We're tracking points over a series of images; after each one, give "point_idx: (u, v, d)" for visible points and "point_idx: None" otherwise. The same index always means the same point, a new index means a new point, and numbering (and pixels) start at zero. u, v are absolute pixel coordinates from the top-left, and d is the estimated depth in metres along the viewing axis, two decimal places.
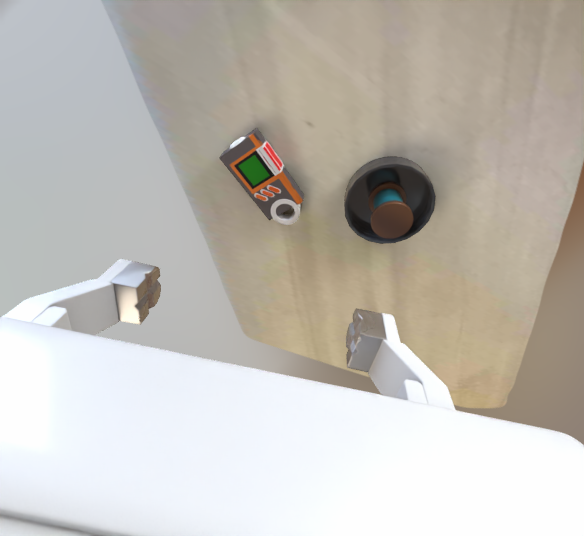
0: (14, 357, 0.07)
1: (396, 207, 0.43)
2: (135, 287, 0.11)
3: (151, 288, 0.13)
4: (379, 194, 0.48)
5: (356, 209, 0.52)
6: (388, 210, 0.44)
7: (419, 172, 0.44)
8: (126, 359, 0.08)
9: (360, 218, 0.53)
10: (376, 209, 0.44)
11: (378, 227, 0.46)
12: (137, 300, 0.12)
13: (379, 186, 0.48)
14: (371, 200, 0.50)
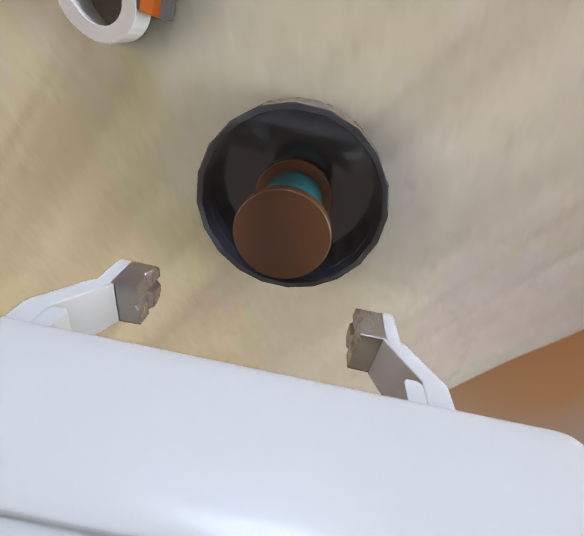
0: (14, 357, 0.07)
1: (315, 222, 0.18)
2: (135, 286, 0.11)
3: (151, 288, 0.13)
4: (297, 174, 0.22)
5: (236, 159, 0.23)
6: (298, 213, 0.17)
7: (385, 207, 0.21)
8: (126, 358, 0.08)
9: (227, 181, 0.24)
10: (281, 188, 0.17)
11: (248, 225, 0.18)
12: (137, 300, 0.12)
13: (308, 163, 0.22)
14: (274, 171, 0.23)
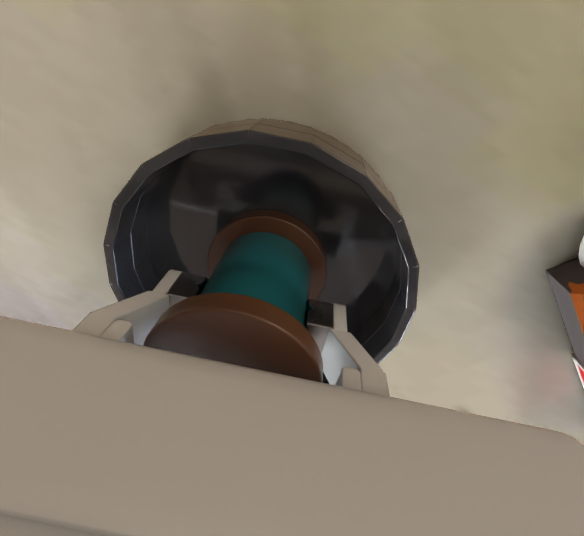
0: (14, 357, 0.07)
1: None
2: None
3: None
4: None
5: (364, 229, 0.14)
6: None
7: None
8: (126, 359, 0.08)
9: (349, 194, 0.14)
10: None
11: (281, 360, 0.09)
12: None
13: None
14: (316, 275, 0.15)
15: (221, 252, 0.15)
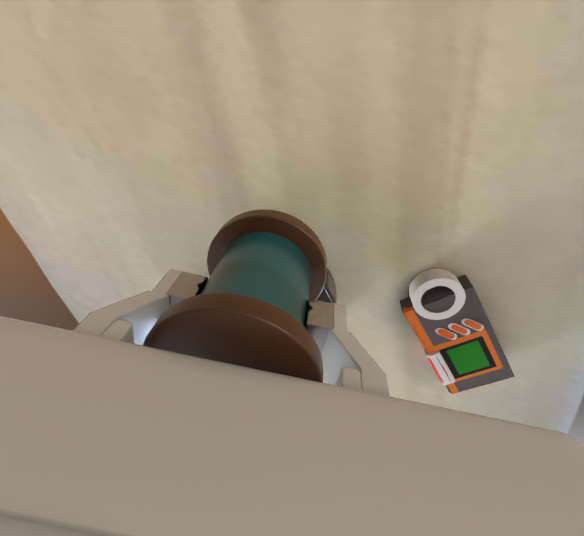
0: (14, 357, 0.07)
1: None
2: None
3: None
4: None
5: None
6: None
7: None
8: (126, 358, 0.08)
9: None
10: None
11: (281, 360, 0.09)
12: None
13: None
14: (316, 275, 0.15)
15: (221, 252, 0.15)
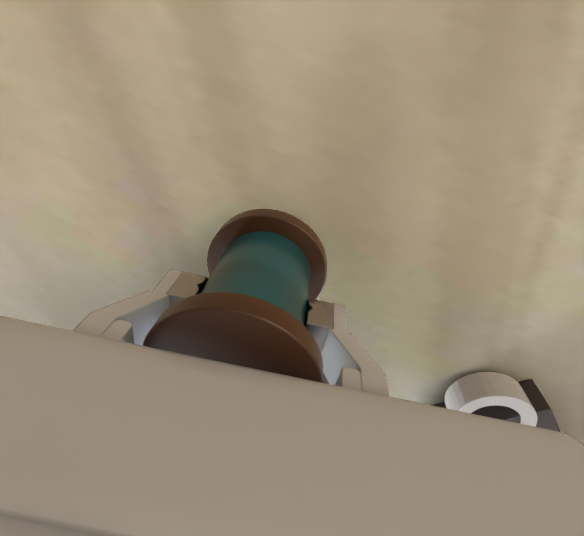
0: (14, 357, 0.07)
1: None
2: None
3: None
4: None
5: None
6: None
7: None
8: (126, 359, 0.08)
9: None
10: None
11: (281, 359, 0.09)
12: None
13: None
14: (316, 275, 0.15)
15: (221, 251, 0.15)
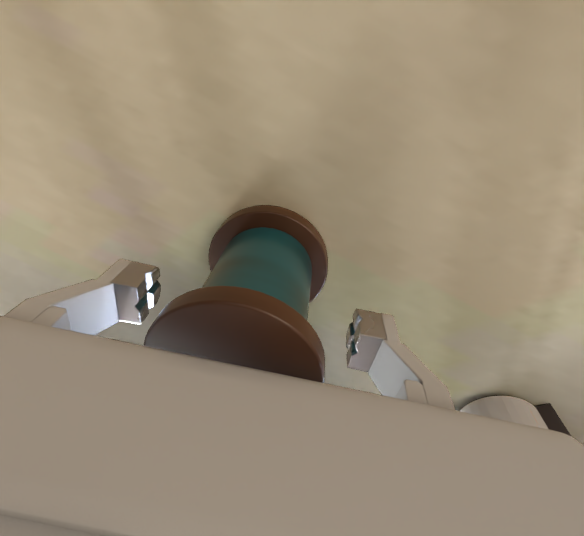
0: (14, 357, 0.07)
1: None
2: (135, 286, 0.11)
3: (151, 288, 0.13)
4: None
5: None
6: None
7: None
8: (126, 359, 0.08)
9: None
10: None
11: (283, 353, 0.09)
12: (137, 300, 0.12)
13: None
14: (317, 271, 0.15)
15: (222, 248, 0.15)
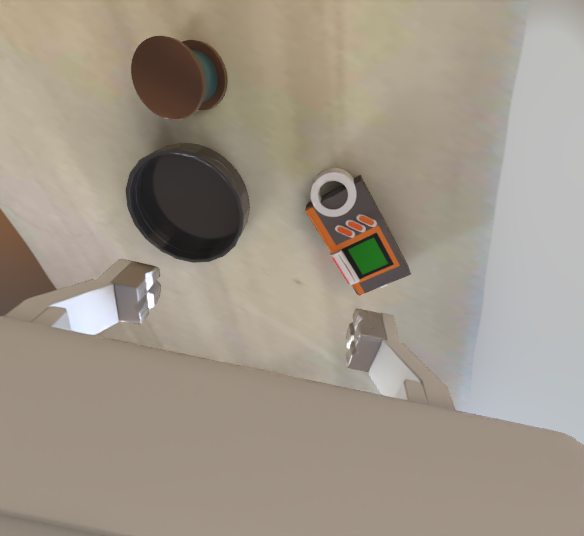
0: (14, 357, 0.07)
1: (169, 111, 0.26)
2: (135, 287, 0.11)
3: (151, 288, 0.13)
4: (209, 96, 0.30)
5: (229, 186, 0.36)
6: (179, 104, 0.26)
7: (165, 252, 0.38)
8: (126, 359, 0.08)
9: None
10: (199, 103, 0.26)
11: (184, 63, 0.24)
12: (137, 300, 0.12)
13: (214, 104, 0.31)
14: (220, 77, 0.30)
15: None
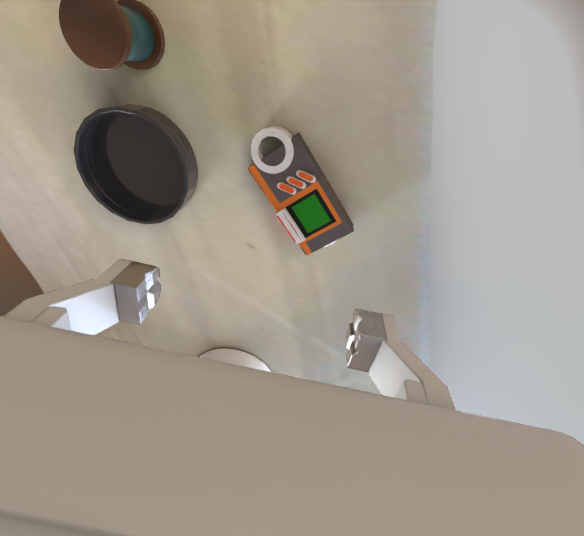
0: (14, 357, 0.07)
1: (98, 60, 0.27)
2: (135, 286, 0.11)
3: (151, 288, 0.13)
4: (146, 53, 0.31)
5: None
6: (107, 53, 0.27)
7: (117, 214, 0.39)
8: (126, 359, 0.08)
9: None
10: (126, 52, 0.27)
11: (107, 11, 0.26)
12: (137, 300, 0.12)
13: (153, 63, 0.33)
14: (156, 35, 0.31)
15: None
